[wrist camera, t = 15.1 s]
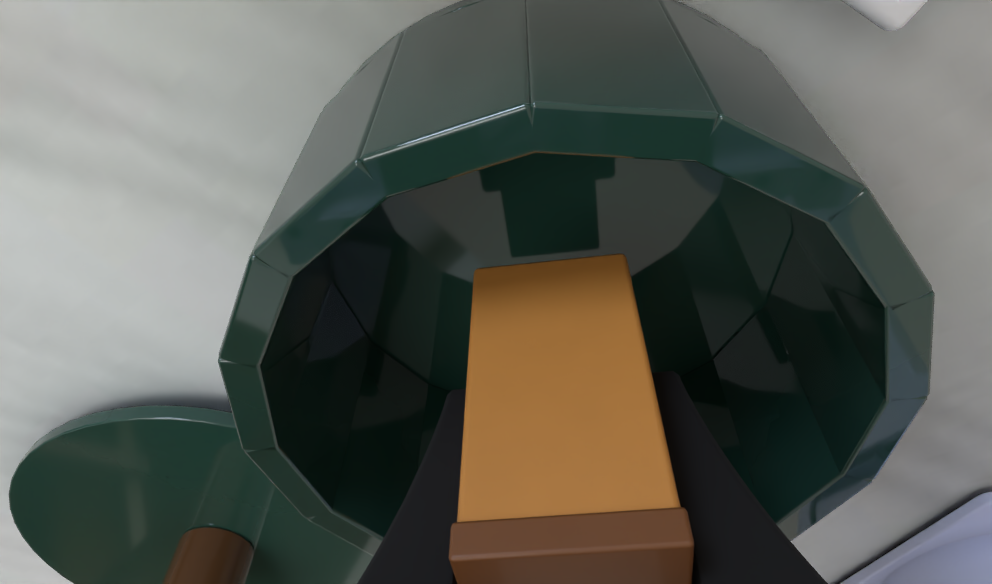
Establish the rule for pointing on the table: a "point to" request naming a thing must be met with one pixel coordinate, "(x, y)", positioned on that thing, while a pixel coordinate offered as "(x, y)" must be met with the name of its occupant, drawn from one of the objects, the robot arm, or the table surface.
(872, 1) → the mooring cleat
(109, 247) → the table surface
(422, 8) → the table surface
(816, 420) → the pot
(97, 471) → the lid
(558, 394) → the brown block
